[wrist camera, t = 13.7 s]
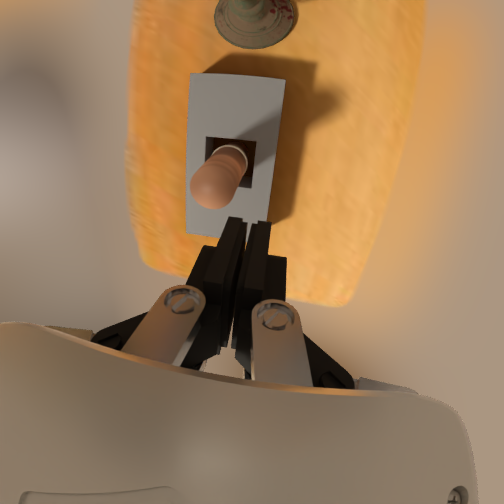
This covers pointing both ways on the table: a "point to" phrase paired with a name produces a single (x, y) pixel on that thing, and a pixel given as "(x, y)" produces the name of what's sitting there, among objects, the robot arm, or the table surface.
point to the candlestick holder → (253, 22)
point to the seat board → (234, 127)
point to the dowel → (220, 176)
